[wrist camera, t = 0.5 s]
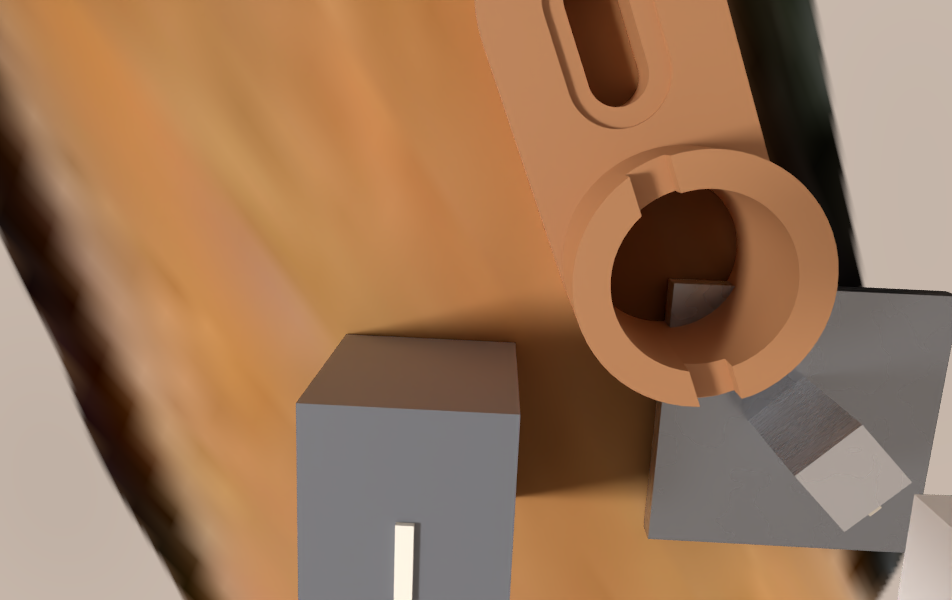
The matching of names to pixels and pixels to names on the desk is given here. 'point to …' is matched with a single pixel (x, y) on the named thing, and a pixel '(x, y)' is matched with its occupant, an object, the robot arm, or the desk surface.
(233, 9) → the desk surface
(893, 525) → the shaft base
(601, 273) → the bracket
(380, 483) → the squarish grey box
